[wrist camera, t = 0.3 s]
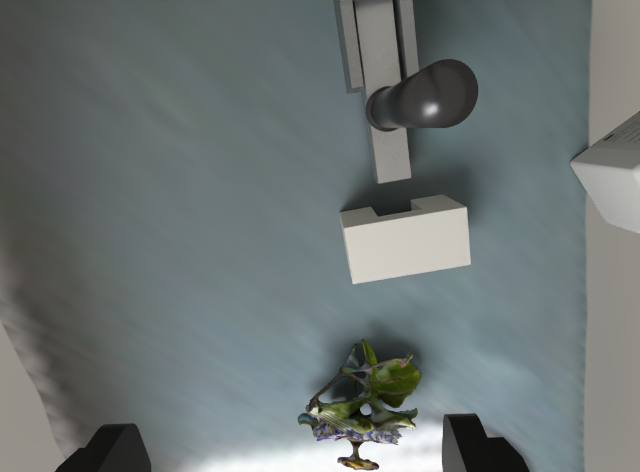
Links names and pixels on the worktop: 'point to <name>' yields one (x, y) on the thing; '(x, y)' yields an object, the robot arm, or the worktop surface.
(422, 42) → the worktop surface
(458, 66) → the tube
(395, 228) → the socket block
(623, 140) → the container
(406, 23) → the sleeve
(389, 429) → the passion flower
